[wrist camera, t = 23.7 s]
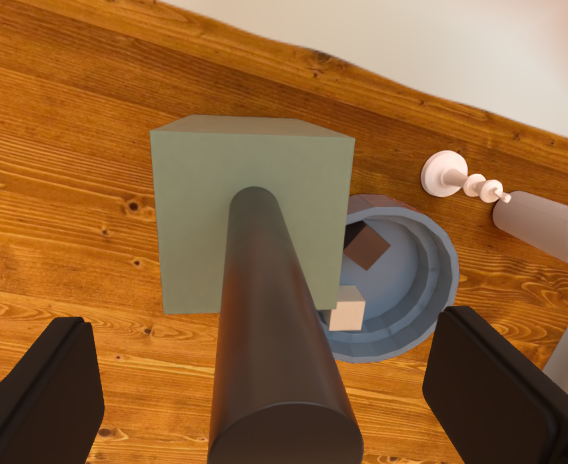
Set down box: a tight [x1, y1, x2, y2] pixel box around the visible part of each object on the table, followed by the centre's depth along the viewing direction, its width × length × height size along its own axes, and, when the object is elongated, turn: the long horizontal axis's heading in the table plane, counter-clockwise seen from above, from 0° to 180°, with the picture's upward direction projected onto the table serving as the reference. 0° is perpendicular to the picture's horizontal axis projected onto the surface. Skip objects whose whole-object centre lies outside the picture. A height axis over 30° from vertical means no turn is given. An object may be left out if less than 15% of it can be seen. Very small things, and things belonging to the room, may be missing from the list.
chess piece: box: [421, 150, 511, 203], centre depth 34 cm, size 5×5×10 cm
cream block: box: [322, 285, 365, 331], centre depth 40 cm, size 4×4×4 cm
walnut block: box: [343, 220, 391, 271], centre depth 38 cm, size 4×4×4 cm
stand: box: [150, 114, 355, 314], centre depth 28 cm, size 10×10×18 cm
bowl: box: [317, 194, 460, 363], centre depth 39 cm, size 18×18×6 cm
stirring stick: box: [207, 186, 364, 464], centre depth 12 cm, size 3×3×14 cm
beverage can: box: [493, 191, 568, 263], centre depth 36 cm, size 5×5×12 cm
